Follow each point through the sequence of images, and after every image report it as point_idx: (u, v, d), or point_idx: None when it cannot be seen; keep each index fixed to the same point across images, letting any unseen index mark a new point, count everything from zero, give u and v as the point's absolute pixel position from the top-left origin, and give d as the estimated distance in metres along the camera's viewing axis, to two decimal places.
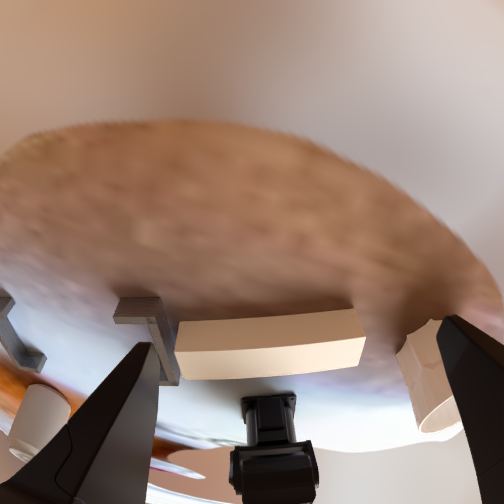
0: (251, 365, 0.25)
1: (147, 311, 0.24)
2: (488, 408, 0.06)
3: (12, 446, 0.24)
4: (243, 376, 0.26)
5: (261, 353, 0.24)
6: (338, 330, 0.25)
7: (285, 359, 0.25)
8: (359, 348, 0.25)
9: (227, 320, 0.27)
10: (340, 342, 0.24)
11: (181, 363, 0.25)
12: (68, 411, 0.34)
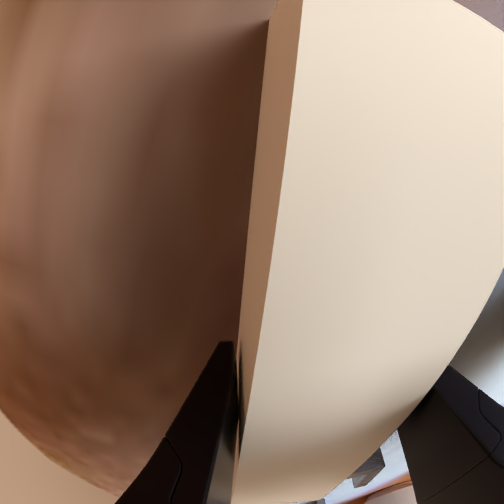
0: (318, 458, 0.07)
1: None
2: (424, 433, 0.06)
3: None
4: (359, 460, 0.07)
5: (266, 450, 0.06)
6: (275, 127, 0.04)
7: (331, 409, 0.05)
8: (433, 13, 0.02)
9: None
10: (309, 157, 0.03)
11: (266, 503, 0.10)
12: (410, 491, 0.23)
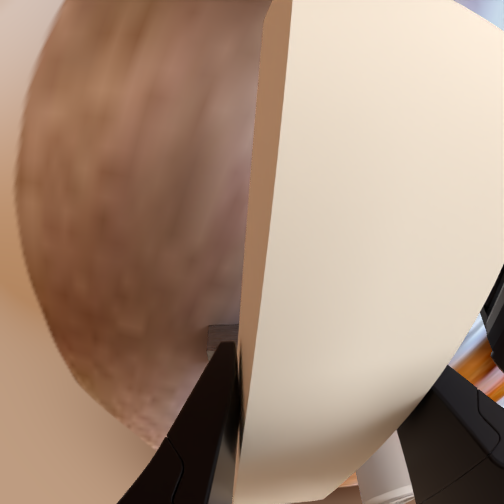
0: (319, 458, 0.07)
1: None
2: (423, 434, 0.06)
3: None
4: (360, 460, 0.07)
5: (266, 451, 0.06)
6: (268, 129, 0.04)
7: (330, 410, 0.05)
8: (426, 10, 0.02)
9: None
10: (302, 159, 0.03)
11: (269, 503, 0.10)
12: None
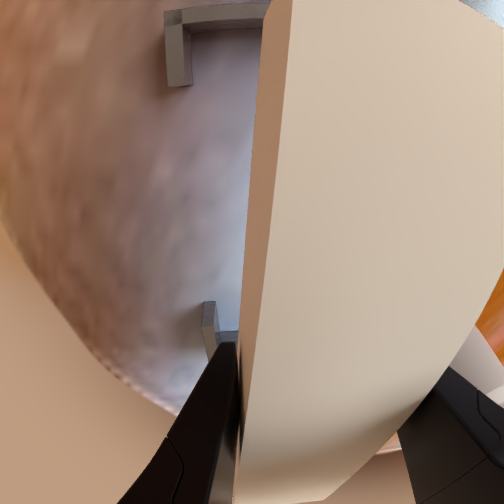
0: (320, 459, 0.07)
1: None
2: (423, 434, 0.06)
3: None
4: (361, 461, 0.07)
5: (266, 452, 0.06)
6: (268, 127, 0.04)
7: (330, 411, 0.05)
8: (427, 8, 0.02)
9: None
10: (302, 157, 0.03)
11: None
12: None
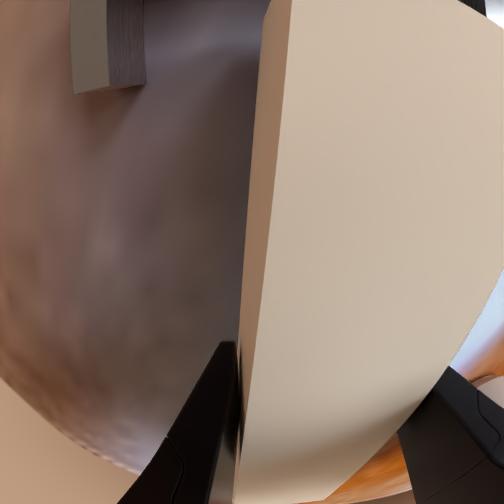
0: (320, 459, 0.07)
1: None
2: (423, 434, 0.06)
3: None
4: (361, 461, 0.07)
5: (266, 452, 0.06)
6: (268, 127, 0.04)
7: (331, 411, 0.05)
8: (427, 8, 0.02)
9: None
10: (301, 157, 0.03)
11: None
12: None
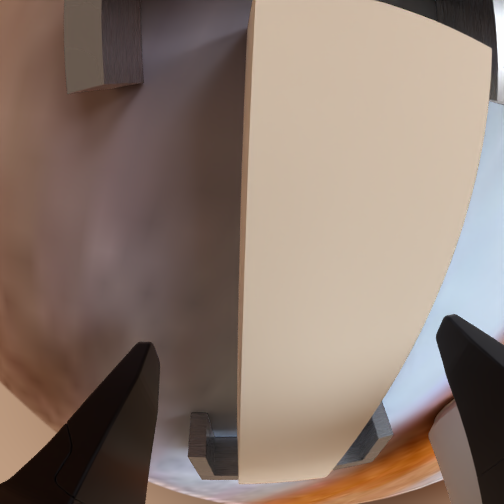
0: (315, 423, 0.08)
1: None
2: (488, 408, 0.06)
3: None
4: (356, 428, 0.08)
5: (263, 413, 0.07)
6: (247, 120, 0.05)
7: (317, 366, 0.06)
8: (362, 16, 0.03)
9: (237, 370, 0.12)
10: (267, 139, 0.04)
11: (273, 481, 0.11)
12: None
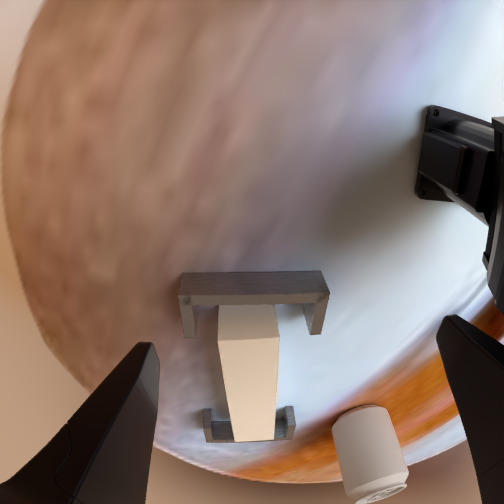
0: (254, 413, 0.24)
1: None
2: (488, 408, 0.06)
3: None
4: (272, 416, 0.25)
5: (236, 409, 0.24)
6: None
7: (247, 396, 0.23)
8: (240, 343, 0.20)
9: None
10: (224, 362, 0.21)
11: (249, 440, 0.27)
12: (377, 412, 0.30)
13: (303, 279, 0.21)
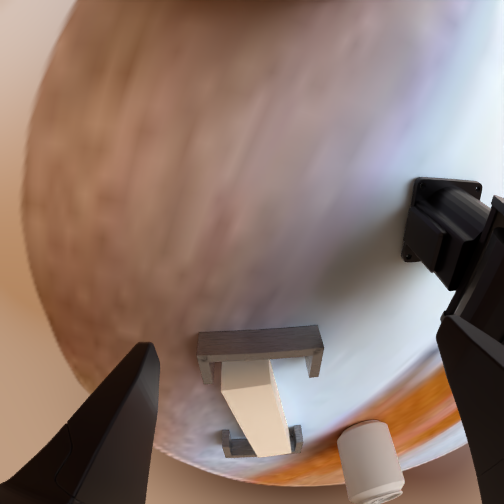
0: (267, 436, 0.28)
1: None
2: (488, 408, 0.06)
3: None
4: (283, 436, 0.28)
5: (251, 434, 0.27)
6: None
7: (257, 425, 0.26)
8: (239, 390, 0.23)
9: None
10: (230, 404, 0.24)
11: (270, 455, 0.31)
12: (376, 427, 0.33)
13: (302, 335, 0.24)
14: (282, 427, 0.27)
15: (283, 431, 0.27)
